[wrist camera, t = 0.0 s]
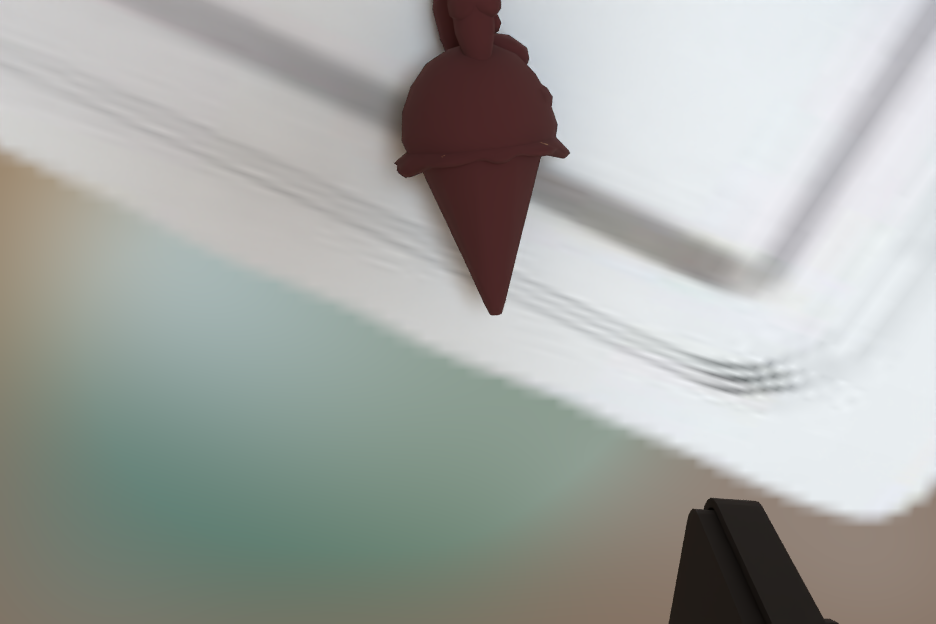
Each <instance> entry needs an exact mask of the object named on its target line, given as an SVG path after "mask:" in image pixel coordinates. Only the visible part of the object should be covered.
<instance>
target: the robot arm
mask: <svg viewBox="0 0 936 624" xmlns="http://www.w3.org/2000/svg"><path fill="white" fill-rule="evenodd" d="M669 624H838V623H837V622H835V621H833V620H831V619H824V618H823V617H822V615H821V613H820V611H819V609H818V607H817V606H816V604H815V602H814V600H813V598H812V597H811V595H810V593H809V591H808V589H807V587H806V586H805V584H804V582H803V580H802V578H801V577H800V575H799V573H798V571H797V569H796V567H795V566H794V564H793V562H792V560H791V558H790V556H789V555H788V553H787V551H786V549H785V547H784V545H783V544H782V542H781V540H780V538H779V536H778V534H777V533H776V531H775V529H774V527H773V525H772V524H771V522H770V520H769V518H768V516H767V514H766V513H765V511H764V509H763V507H762V506H761V504H760V503H759V502H756V501H747V500H733V499H719V498H710V499H708V500H707V502H706V504H705V506H704V510H702V509H692V510H691V511H690V513H689V516H688V520H687V525H686V530H685V537H684V541H683V547H682V553H681V559H680V564H679V569H678V575H677V580H676V586H675V591H674V597H673V603H672V608H671V614H670V620H669Z"/></svg>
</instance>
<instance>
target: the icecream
mask: <svg viewBox="0 0 936 624" xmlns="http://www.w3.org/2000/svg"><path fill="white" fill-rule="evenodd" d="M500 9H501V0H433V13H434V17H435V21H436V25H437V29H438V33H439V36H440V40H441V42H442V44H443V46H444V49H445V51H444V52H443V53H442V54H440V55H439V56H437V57H436V58H434V59H433V60H431V61H430V62H428V63H427V64H426V65H425V66H424V68H423V69H422V71H421V72H420V74H419V75H418V77H417V78H416V80H415V81H414V83H413V84H412V86H411V87H410V91H409V94H408V97H407V100H406V103H405V106H404V109H403V112H402V143H403V145H404V147H405V149H406V151H407V152H406V153H405V154H404V155H403V156H402V157H401V158H399V159H398V160H397V161H396V162H395V163H394V164H396V165H397V171H398V173H399V174H401V175H402V176H404V177H405V178H407V177H413V176H415V175H417V174H420V173H422V172H423V174H424V176H425V178H426V180H427V182H428V184H429V187H430V189H431V191H432V193H433V195H434V197H435V199H436V201H437V203H438V206H439V208H440V210H441V212H442V214H443V216H444V218H445V220H446V223H447V225H448V227H449V229H450V231H451V233H452V235H453V237H454V240H455V242H456V244H457V246H458V248H459V250H460V252H461V254H462V257H463V259H464V261H465V263H466V265H467V267H468V269H469V271H470V274H471V276H472V278H473V280H474V282H475V285H476V287H477V289H478V291H479V293H480V296H481V298H482V300H483V302H484V304H485V306H486V308H487V310H488V312H489V314H490V315H500V314H502V311H503V308H504V304H505V301H506V296H507V292H508V288H509V284H510V280H511V276H512V271H513V267H514V263H515V259H516V255H517V251H518V247H519V243H520V239H521V235H522V231H523V227H524V223H525V219H526V215H527V211H528V207H529V203H530V199H531V195H532V191H533V187H534V183H535V179H536V175H537V170H538V166H539V162H540V158H541V156H546V155H547V156H553V157H558V158H565V157H567V156H568V155H569V154H570V152H569V150H568V149H567V148H566V147H565V146H564V145H563V144H562V143H561V142H560V141H559V140H558V139H557V138H556V132H557V125H558V124H557V122H556V119H555V116H554V113H553V110H552V107H551V106H552V98H553V97H552V95H551V93H550V92H549V90H548V89H547V88H546V87H545V86H543V85H542V84H541V83H540V81H539V79H538V77H537V76H536V74H535V73H534V72H533V71H532V70H531V69H530V68H529V67H528V66H527V64H528V61H529V55H528V50H527V47H525V46H524V45H522V44H521V43H520V42H518V41H517V40H515V39H514V38H513V37H511V36H510V35H505V34H498V33H496V32H498V31H499V28H500V25H501V21H500V19H499V17H498V15H497V13H498V12H499V10H500Z"/></svg>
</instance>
